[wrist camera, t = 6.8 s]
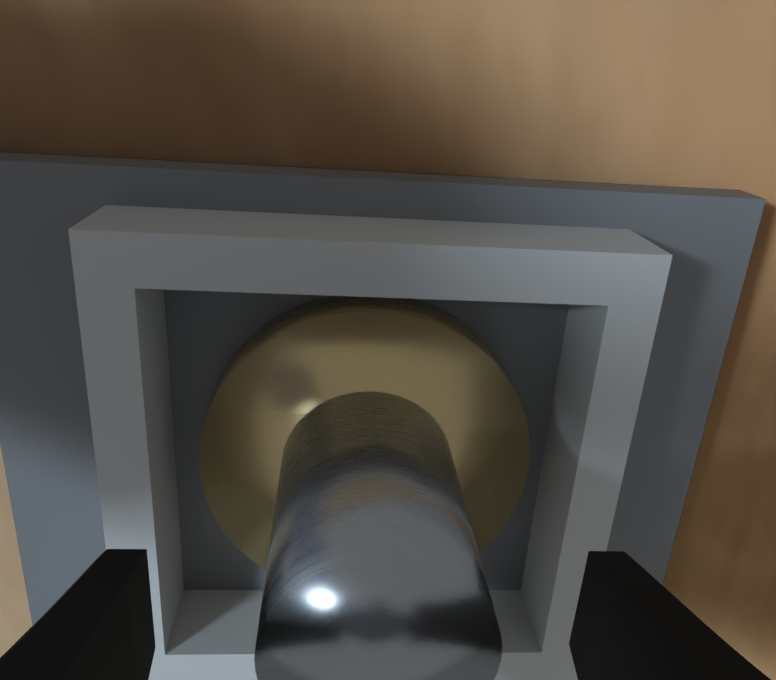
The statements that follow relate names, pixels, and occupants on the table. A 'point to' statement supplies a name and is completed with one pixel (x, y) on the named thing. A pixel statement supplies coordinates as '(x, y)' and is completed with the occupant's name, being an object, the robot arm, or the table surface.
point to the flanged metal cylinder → (367, 488)
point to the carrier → (359, 279)
